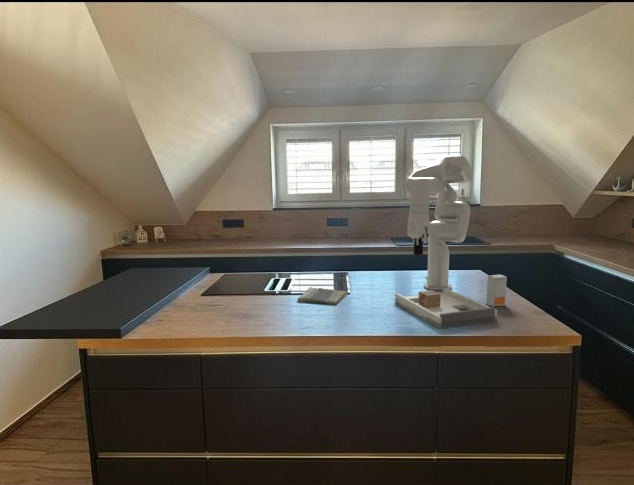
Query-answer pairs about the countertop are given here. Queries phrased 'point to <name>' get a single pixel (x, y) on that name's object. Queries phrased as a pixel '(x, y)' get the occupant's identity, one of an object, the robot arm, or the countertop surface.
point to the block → (429, 299)
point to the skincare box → (496, 290)
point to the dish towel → (322, 296)
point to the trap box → (449, 310)
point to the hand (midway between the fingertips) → (418, 254)
